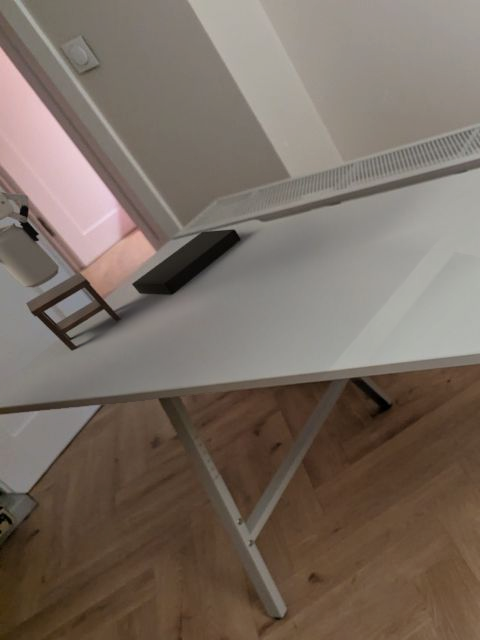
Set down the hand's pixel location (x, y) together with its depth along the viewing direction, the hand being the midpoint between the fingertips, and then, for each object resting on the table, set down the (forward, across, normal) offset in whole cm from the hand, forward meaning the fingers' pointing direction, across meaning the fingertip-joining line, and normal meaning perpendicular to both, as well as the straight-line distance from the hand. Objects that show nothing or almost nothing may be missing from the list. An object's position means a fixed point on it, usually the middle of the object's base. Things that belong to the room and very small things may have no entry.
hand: (16, 250), depth 110 cm
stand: (+21, 0, 0) cm, 21 cm away
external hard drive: (+21, +26, +1) cm, 34 cm away
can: (+7, 0, 0) cm, 7 cm away
